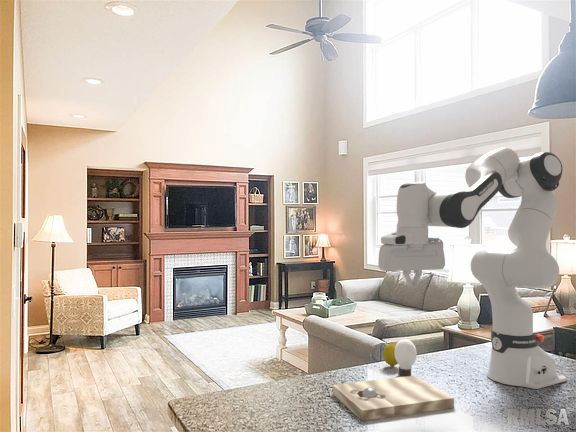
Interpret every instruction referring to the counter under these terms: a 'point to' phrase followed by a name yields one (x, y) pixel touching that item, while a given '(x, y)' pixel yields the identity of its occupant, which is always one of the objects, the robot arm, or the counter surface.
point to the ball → (369, 393)
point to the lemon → (390, 354)
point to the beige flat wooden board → (392, 397)
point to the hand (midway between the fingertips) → (412, 285)
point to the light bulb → (405, 356)
